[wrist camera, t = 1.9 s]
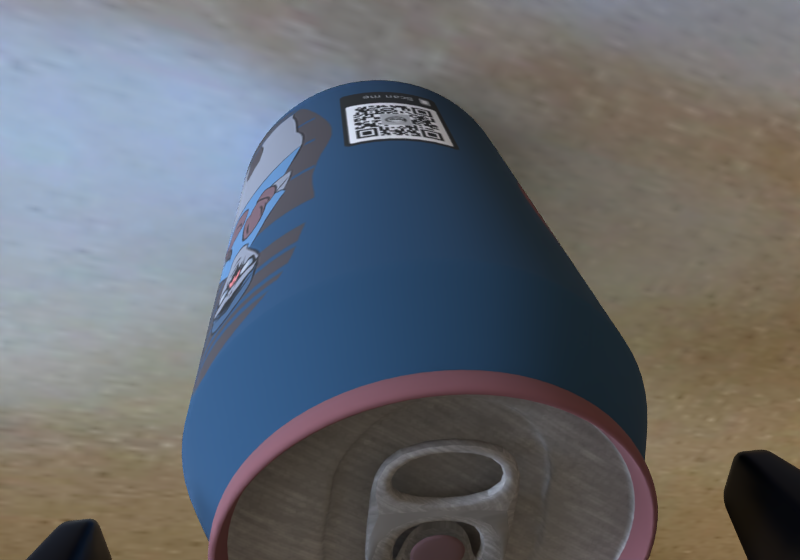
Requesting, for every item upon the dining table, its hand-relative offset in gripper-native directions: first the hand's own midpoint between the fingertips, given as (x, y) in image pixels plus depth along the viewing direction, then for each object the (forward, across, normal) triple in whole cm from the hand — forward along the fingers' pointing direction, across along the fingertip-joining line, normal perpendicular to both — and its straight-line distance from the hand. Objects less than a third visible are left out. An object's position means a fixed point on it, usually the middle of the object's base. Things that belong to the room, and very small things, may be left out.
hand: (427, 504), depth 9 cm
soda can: (+11, 0, 0) cm, 11 cm away
